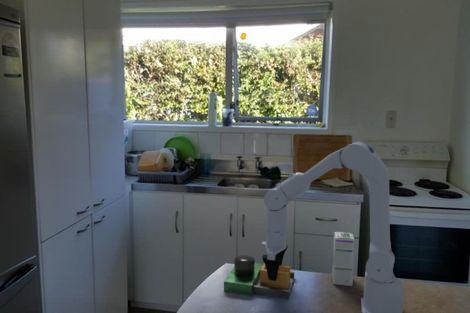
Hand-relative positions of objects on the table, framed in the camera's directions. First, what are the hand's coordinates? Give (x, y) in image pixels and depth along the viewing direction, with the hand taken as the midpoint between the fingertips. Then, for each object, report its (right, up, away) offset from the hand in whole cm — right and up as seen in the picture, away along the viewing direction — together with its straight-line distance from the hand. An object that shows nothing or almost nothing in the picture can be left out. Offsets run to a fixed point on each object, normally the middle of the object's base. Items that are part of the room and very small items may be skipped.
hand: (274, 274), depth 111 cm
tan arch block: (0, -3, 0) cm, 3 cm away
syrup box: (+21, -4, +4) cm, 21 cm away
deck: (-4, -3, +1) cm, 5 cm away
